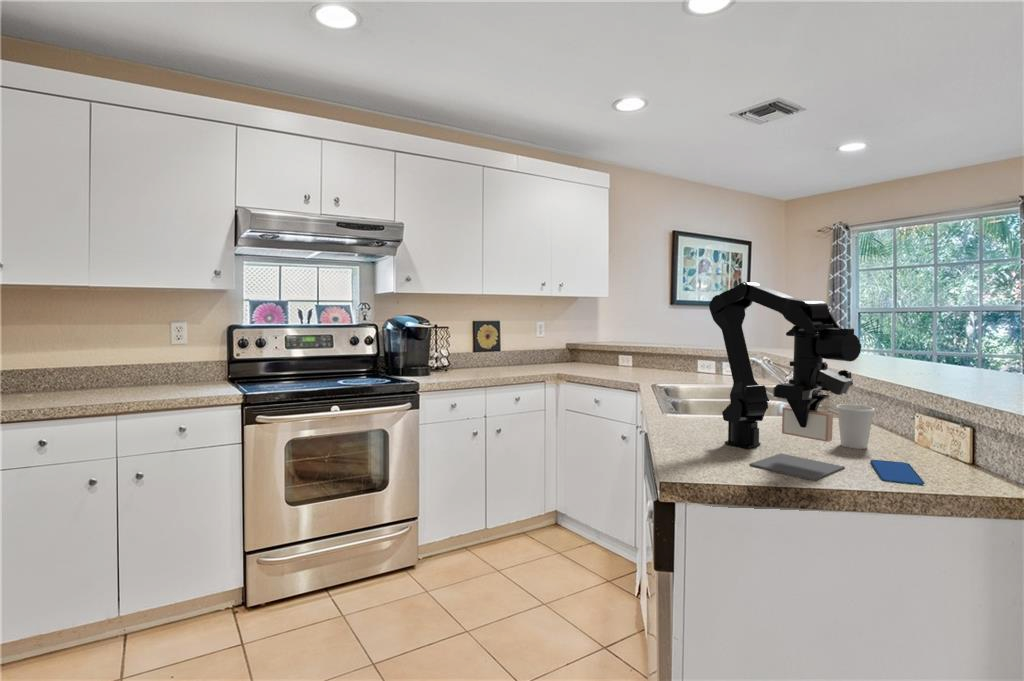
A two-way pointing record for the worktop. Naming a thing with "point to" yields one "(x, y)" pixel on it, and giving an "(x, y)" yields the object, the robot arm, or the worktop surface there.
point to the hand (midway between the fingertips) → (805, 426)
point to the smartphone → (896, 472)
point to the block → (808, 425)
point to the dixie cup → (854, 424)
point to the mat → (797, 466)
